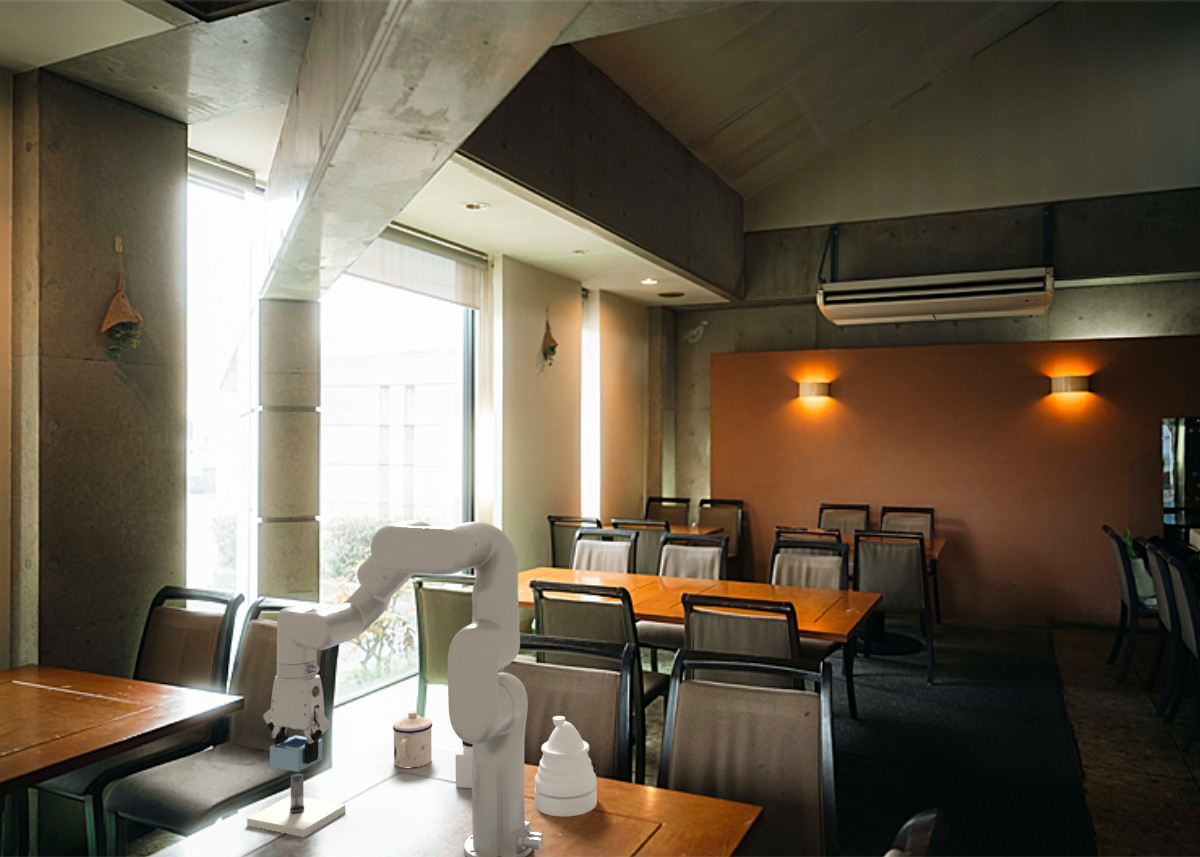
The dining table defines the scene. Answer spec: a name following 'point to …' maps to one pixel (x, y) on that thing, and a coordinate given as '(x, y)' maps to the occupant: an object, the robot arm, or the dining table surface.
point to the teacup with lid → (412, 741)
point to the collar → (292, 754)
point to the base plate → (296, 816)
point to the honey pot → (565, 774)
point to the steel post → (297, 794)
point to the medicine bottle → (464, 766)
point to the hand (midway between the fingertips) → (296, 758)
